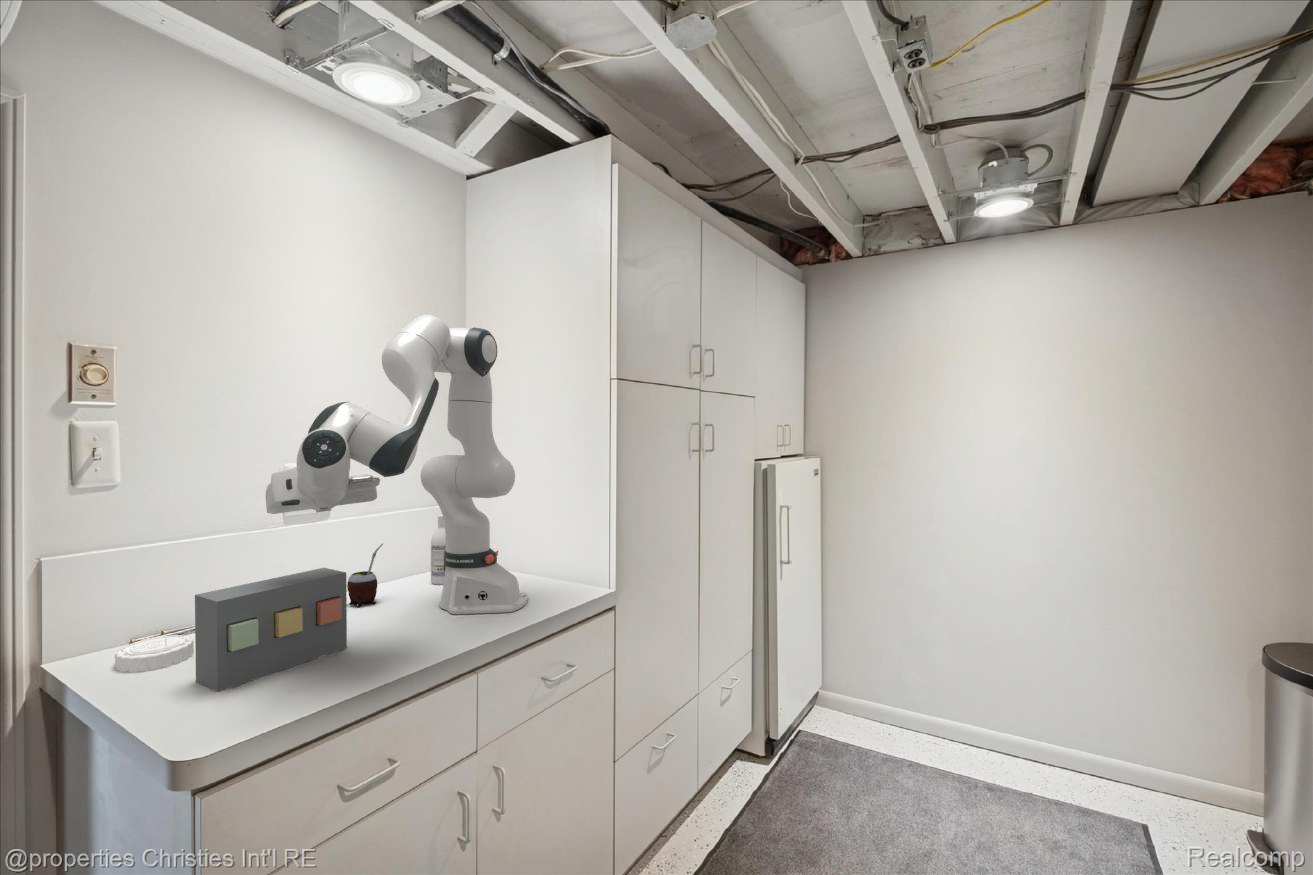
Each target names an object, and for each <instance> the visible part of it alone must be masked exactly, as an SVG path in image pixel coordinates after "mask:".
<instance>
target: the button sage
mask: <svg viewBox="0 0 1313 875" xmlns="http://www.w3.org/2000/svg"><path fill="white" fill-rule="evenodd" d="M256 644H259V633H258V620H257V619H254V618H250V619H246V620H243V621H239V622H235V623H231V624H227V650H229V651H235V650H239V649H242V648H246V647H249V646H252V645H256Z"/></svg>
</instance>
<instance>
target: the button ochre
mask: <svg viewBox="0 0 1313 875" xmlns="http://www.w3.org/2000/svg"><path fill="white" fill-rule="evenodd" d="M300 631H303V616H302V608H299V607H293V608H289V609H285V610H281V611H278V612H274V636H276V637H279V638H280V637H283V636H286V635H290V634H293V633H297V632H300Z"/></svg>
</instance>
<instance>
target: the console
mask: <svg viewBox="0 0 1313 875" xmlns="http://www.w3.org/2000/svg"><path fill="white" fill-rule="evenodd" d="M332 597H339V598H342V619H341V620H337V621H334V622H331V623H327V624H324V625H318V624H316V601H320V600H324V599H328V598H332ZM347 600H348V599H347V572H346V571H341V570H337V569H332V568H327V567H321V568H316V569H311V570H306V571H302V572H298V573H292V574H286V575H282V576H278V577H277V576H276V577H272V578H268V579H264V580H259V581H254V582H250V583H245V584H240V585H235V586H230V587H225V588H222V589H217V590H210V591H207V592H201V593H196V594H194V626H195V627H194V628H195V630H194V631H195V635H194V636H195V637H194V638H195V640H194V641H195V643H194V644H195V682H196V683H198V684H200V685H202V686H204V687H206V688H209V689H211V690H212V691H215V692H217V693H218V692H221V691H224V690H227V689H230V688H233V687H236V686H240V685H241V684H245V683H248V682H251V681H253V680H257V679H259V678H262V677H265V676H269V675H271V674H274V673H277V672H279V671H280V672H281V671H283V670H286V669H289V668H292V667H295V666H297V665H301V664H303V663H306V662H310V661H312V660H315V659H319V658H321V657H323V656H324V657H325V656H326V655H330V654H333V653H335V652H339V651H342V650H346V649H347V648H348V647H347V646H348V640H347V639H348V634H347V633H348V629H347V626H348V625H347V624H348V622H347V621H348V620H347V619H348V616H347V612H348V611H347V610H348V609H347V608H348V607H347V606H348V605H347V604H348V602H347ZM293 607H299V608H302V616H303V631H300V632H297V633H293V634H290V635H286V636H283V637H280V638H279V637H276V636H274V612H278V611H281V610H285V609H289V608H293ZM250 618H254V619H257V620H258V633H259V644H256V645H252V646H249V647H246V648H242V649H239V650H235V651H229V650H227V624H231V623H235V622H239V621H243V620H246V619H250Z"/></svg>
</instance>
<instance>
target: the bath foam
mask: <svg viewBox="0 0 1313 875" xmlns="http://www.w3.org/2000/svg"><path fill="white" fill-rule="evenodd" d="M445 550H446V538H445V523H444V518H443V515H442V514H438V515H437V528H436V530H435V531H434V533H433V534H432V537H431V539H430V583H431V584H433V585H436V586H437V585H438V586H439V585H441V586H442V585H443V586H444V578H445V572H444V564H443V561H444V551H445Z"/></svg>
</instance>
